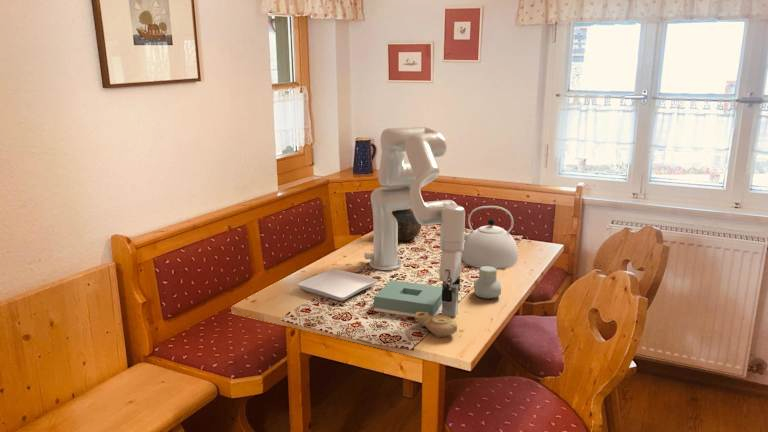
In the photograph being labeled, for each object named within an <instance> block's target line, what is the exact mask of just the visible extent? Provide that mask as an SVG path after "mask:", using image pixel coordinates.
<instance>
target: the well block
mask: <svg viewBox="0 0 768 432" xmlns="http://www.w3.org/2000/svg"><path fill="white" fill-rule="evenodd" d="M373 310H374V311H376V312H381V313H386V314H394V315H401V316H407V317H414V318H415V314H416V313H417V312H428V314H429V315H432V316H437V314H438V313H439V312H440V311H441V310H442V286H437V285H431V284H430V285H429V284H424V283H423V284H422V283H417V282H415V283H414V282H407V281H400V280H394V279H390V280H389V281H388V282H387V283H386V284H385V285H384V286H383V287H381V289H380V290H379V291H378V292H377V293H376V294H375V295H374V296H373ZM438 311H439V312H438Z"/></svg>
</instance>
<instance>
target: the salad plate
mask: <svg viewBox="0 0 768 432" xmlns="http://www.w3.org/2000/svg"><path fill="white" fill-rule="evenodd" d="M377 282H378V279H377V278H374V277H373V278H372V277H369V276H365V275H362V274H358V273H354V272H351V271H346V270H343V269H338V268H331V269H328V270H326V271H324V272H321V273H318V274H316V275H313V276H312V277H309V278H307V279H304V280H302V281H299V282H297V283H296V286H297V287H298V288H299V289H302V290H304V291H307V292H310V293H311V294H316V295H318V296H321V297H325V298H329V299H331V300H332V299H333V300H336V301H340V302H343V301H345V300H347V299H349V298H351V297H352V296H355V295H357V294H358V293H360V292H363V291H364V290H367V289H369V288H371V287H372V286H374V285H375V284H376V283H377Z"/></svg>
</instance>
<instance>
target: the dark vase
mask: <svg viewBox="0 0 768 432" xmlns="http://www.w3.org/2000/svg"><path fill="white" fill-rule="evenodd" d="M392 214H393V216H394V217H395V218H396V220H397V223H398V242H407V241H410V240H411V241H412V240H413V239H414V238H416V237H418V235H419V234H420V231H421V229H422V225H421V224H419V223H418V222H417V220H416V218H415V216H414V213H413V210H412V209H411V208H410V209H406V210H397V211H392Z"/></svg>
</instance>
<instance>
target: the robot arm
mask: <svg viewBox="0 0 768 432" xmlns="http://www.w3.org/2000/svg"><path fill="white" fill-rule="evenodd" d="M379 141H380V146H381V147H380V148H381V156H380V162H379V168H378V169H379V170H378V175H377V176H378V178H377V180H378V183H379V185H380V186H382V187H378V188H375V189H373V191H371V194H370V204H371V209H372V219H373V220H372V221H373V225H372V226H373V227H372V228H373V235H372V237H373V252H372V253H370V252H366V251H365V252H364V255H363V256H364V259H366V260H370V261H369V266H370V267H371V268H372V269H375V270H379V271H393V270H397V269H399V268H401V266H402V261H401V260H400V259H398V242H399V241H398V223H397V220H396V218H395V217H394V216H393V214H392V211H397V210H406V209H410V210H411V211H412V212H413V213H414V216H415V218H416V220H417V222H418V223H419V224H421V226H423V227H424V226H434V225H440V232H439V235H440V236H439V249H440V251H441V254H440V255H441V256H440V261H439V262H440V263H439V279H438V280H439V281H440V282H442V285H441V287H442V301H446V302H452V290H451V288H452V284H458V285H459V291H460V290H461V288H460V287H461V273H462V251H463V250H464V242H465V240H464V232H466V231H465V230H466V229H465V228H466V227H465V226H466V224H465V223H466V210H465V208H464V207H463V206H461V205H458V204H457V203H456V202H455V201H453V200H451V199H442V200H434V201H433V200H432V201H430V200H429V201H424V199H423V196H422V192H421V191H422V190H421V188H423V187H425V186H427V185H428V184H430V183H431V182H434V181H435V180H436V179H437V178H438V176H439V175H440V172H441V171H440V168H439V166H438V162H437V160H436V158H441V157H443V156H445V155H446V152H447V142H446V139H445V138H444V136H443V135H442V134H441V132H439V131H437V130H434V129H431V128H430V127H426V126H411V127H390V128H385V129H384V130H382V132H381V134H380V140H379ZM405 154H406V157H407V160H405ZM448 283H450V285H449V284H448Z"/></svg>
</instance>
